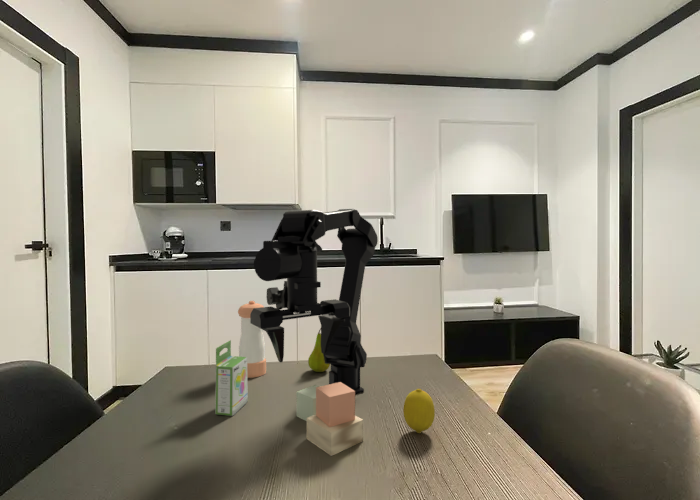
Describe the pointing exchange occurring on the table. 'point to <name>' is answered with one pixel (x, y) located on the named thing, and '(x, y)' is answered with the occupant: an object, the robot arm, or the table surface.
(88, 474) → the table surface
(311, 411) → the sage cube
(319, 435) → the maple base
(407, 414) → the lemon
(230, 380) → the ink box
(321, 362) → the fruit
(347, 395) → the terracotta cube
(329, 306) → the robot arm
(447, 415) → the table surface
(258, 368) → the pepper shaker
